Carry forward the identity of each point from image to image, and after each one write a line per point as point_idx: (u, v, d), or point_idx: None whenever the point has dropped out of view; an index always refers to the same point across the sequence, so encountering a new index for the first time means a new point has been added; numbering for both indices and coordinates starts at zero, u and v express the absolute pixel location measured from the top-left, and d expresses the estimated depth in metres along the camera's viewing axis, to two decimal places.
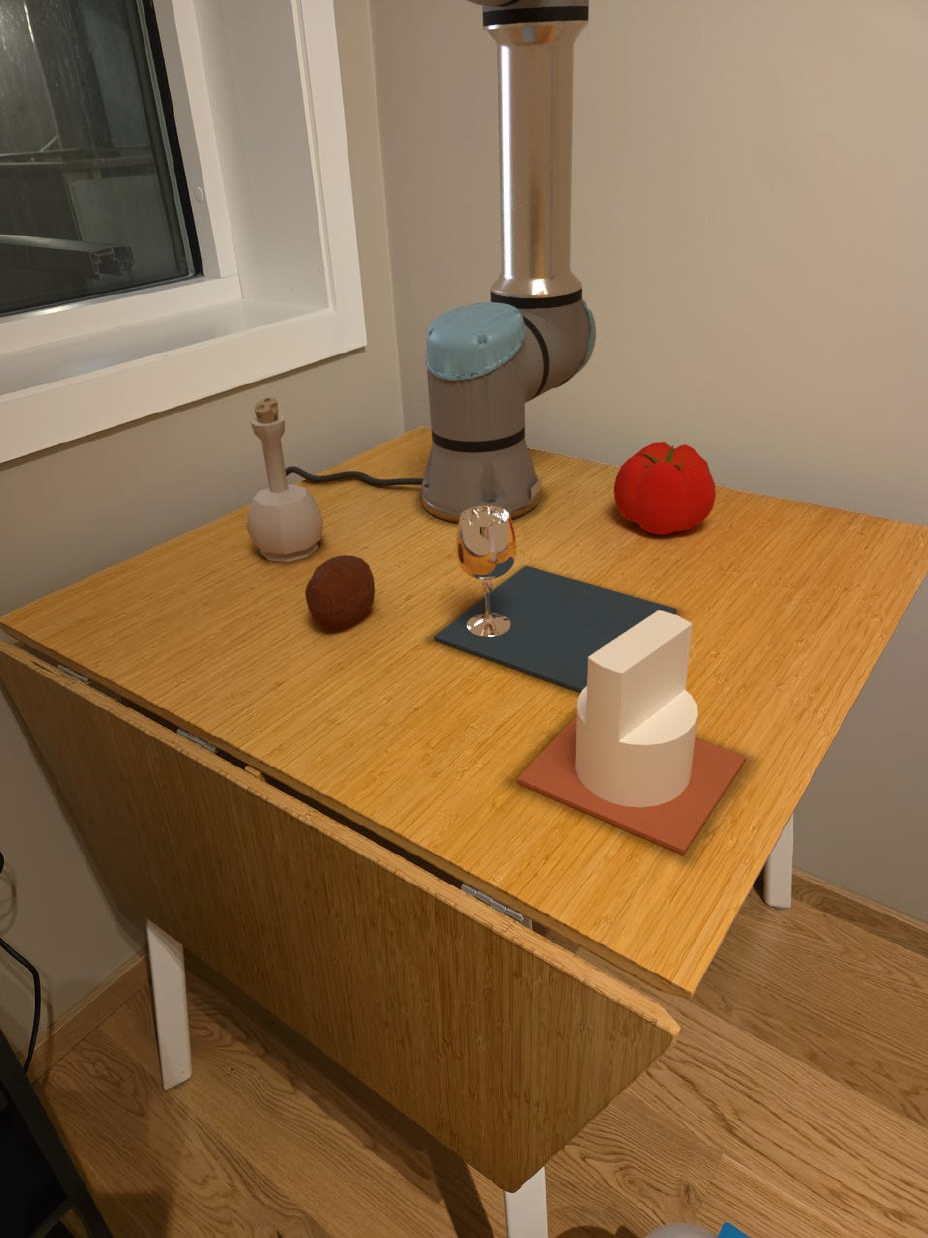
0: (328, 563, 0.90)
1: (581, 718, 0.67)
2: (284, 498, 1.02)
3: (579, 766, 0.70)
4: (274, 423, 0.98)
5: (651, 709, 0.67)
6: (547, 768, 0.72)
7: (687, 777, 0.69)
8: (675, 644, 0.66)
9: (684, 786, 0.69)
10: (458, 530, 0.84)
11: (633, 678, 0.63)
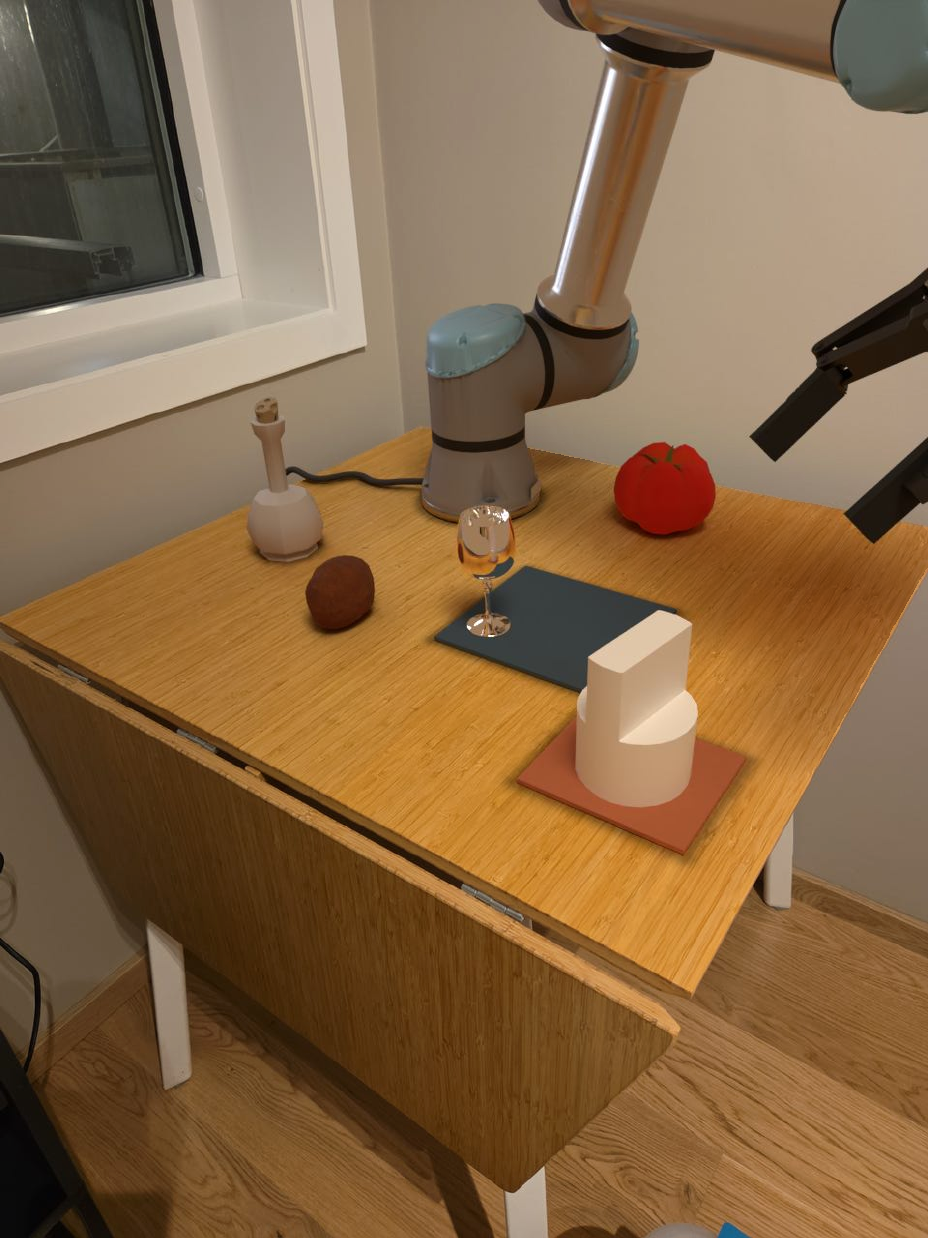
0: (328, 563, 0.90)
1: (581, 718, 0.67)
2: (284, 498, 1.02)
3: (579, 766, 0.70)
4: (274, 423, 0.98)
5: (651, 709, 0.67)
6: (547, 768, 0.72)
7: (687, 777, 0.69)
8: (675, 644, 0.66)
9: (684, 786, 0.69)
10: (458, 530, 0.84)
11: (633, 678, 0.63)
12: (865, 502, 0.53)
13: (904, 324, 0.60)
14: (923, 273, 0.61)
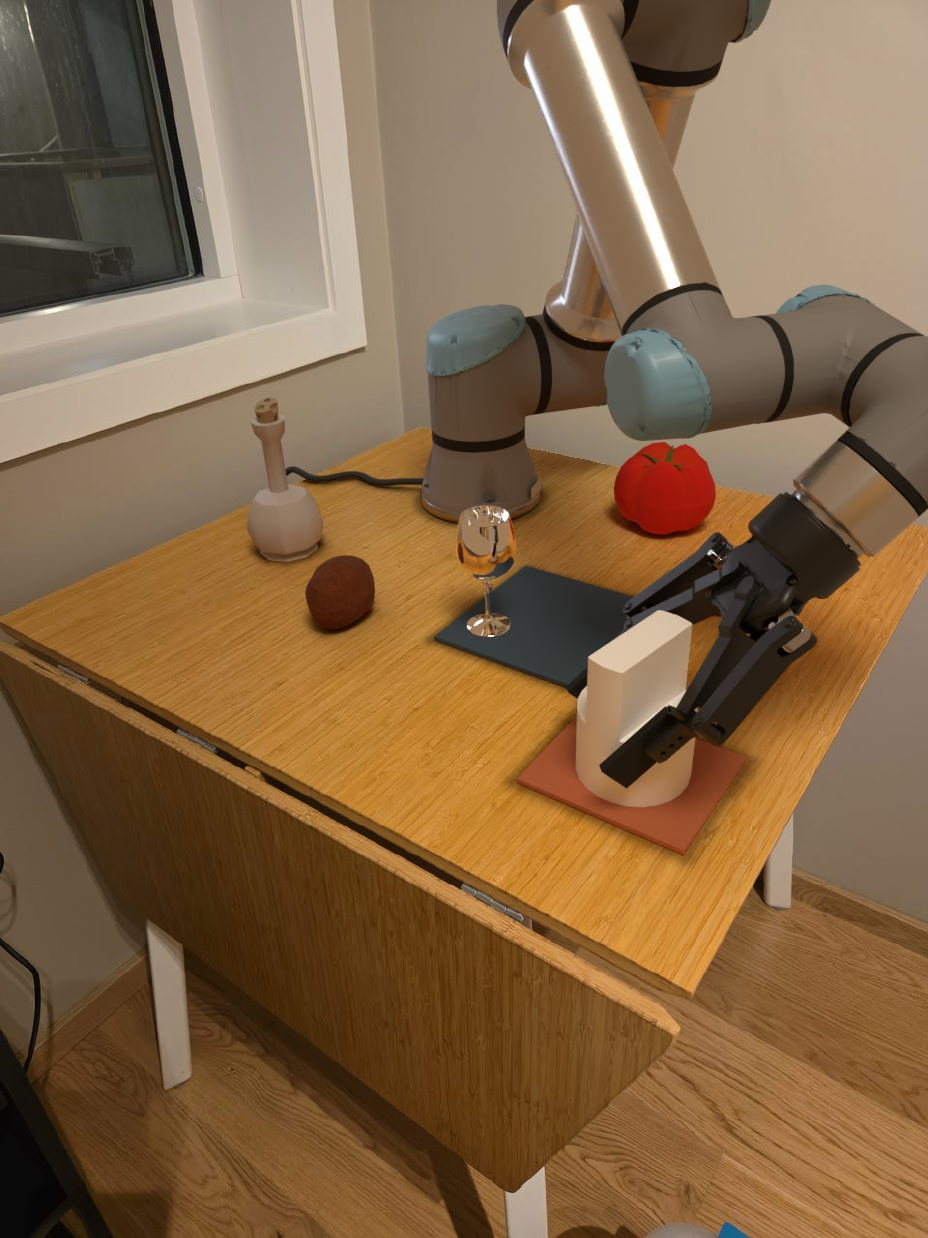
0: (328, 563, 0.90)
1: (581, 718, 0.67)
2: (284, 498, 1.02)
3: (579, 766, 0.70)
4: (274, 423, 0.98)
5: (651, 709, 0.67)
6: (547, 768, 0.72)
7: (687, 777, 0.69)
8: (675, 644, 0.66)
9: (684, 786, 0.69)
10: (458, 530, 0.84)
11: (633, 678, 0.63)
12: (614, 759, 0.64)
13: (690, 595, 0.67)
14: (705, 544, 0.69)
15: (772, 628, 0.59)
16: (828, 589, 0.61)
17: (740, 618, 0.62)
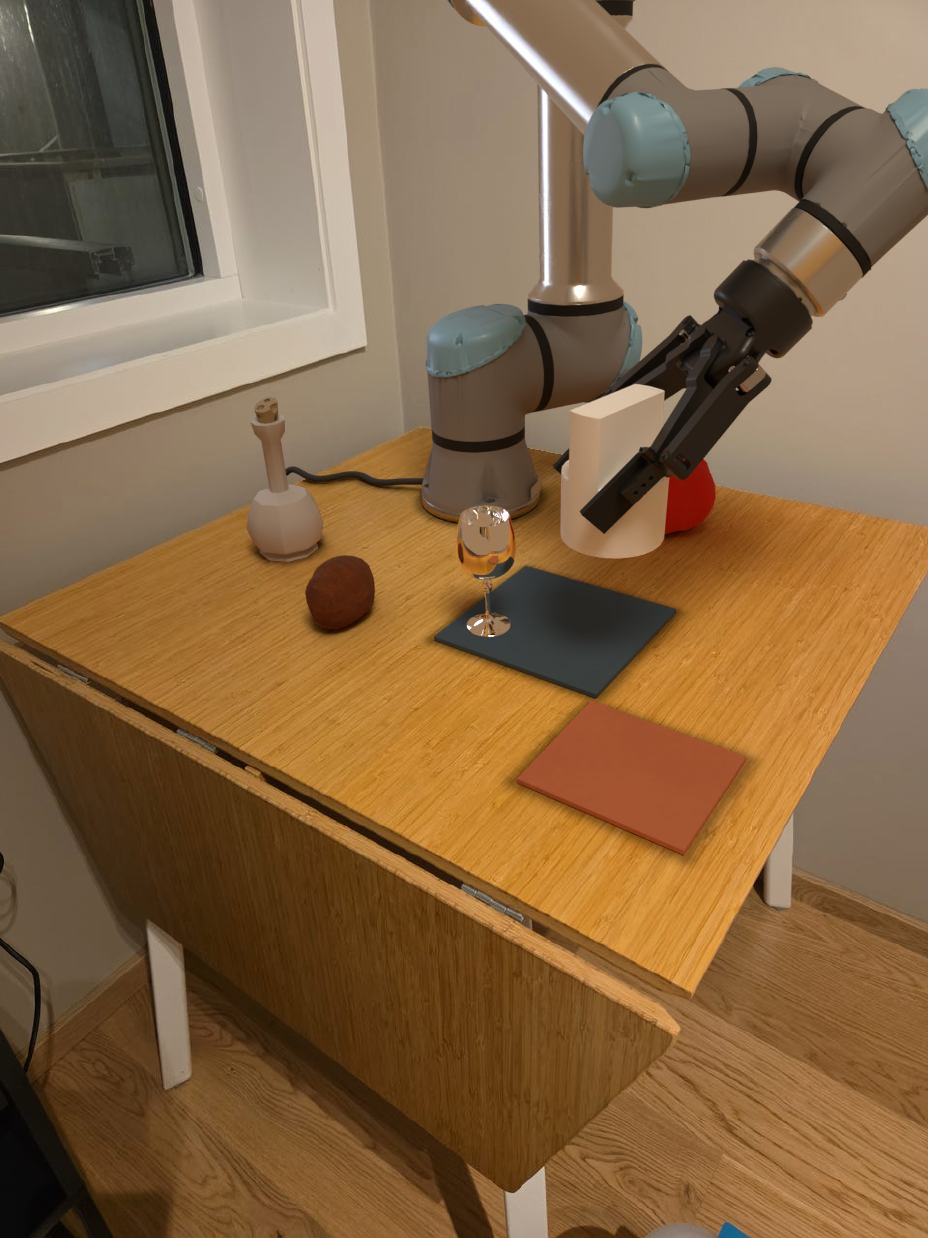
0: (328, 563, 0.90)
1: (565, 477, 0.75)
2: (284, 498, 1.02)
3: (563, 528, 0.78)
4: (274, 423, 0.98)
5: None
6: (547, 768, 0.72)
7: (660, 535, 0.76)
8: (649, 406, 0.73)
9: (657, 543, 0.76)
10: (458, 530, 0.84)
11: (610, 428, 0.71)
12: (592, 502, 0.71)
13: (663, 368, 0.75)
14: (677, 327, 0.77)
15: (732, 370, 0.67)
16: (782, 341, 0.68)
17: (705, 370, 0.69)
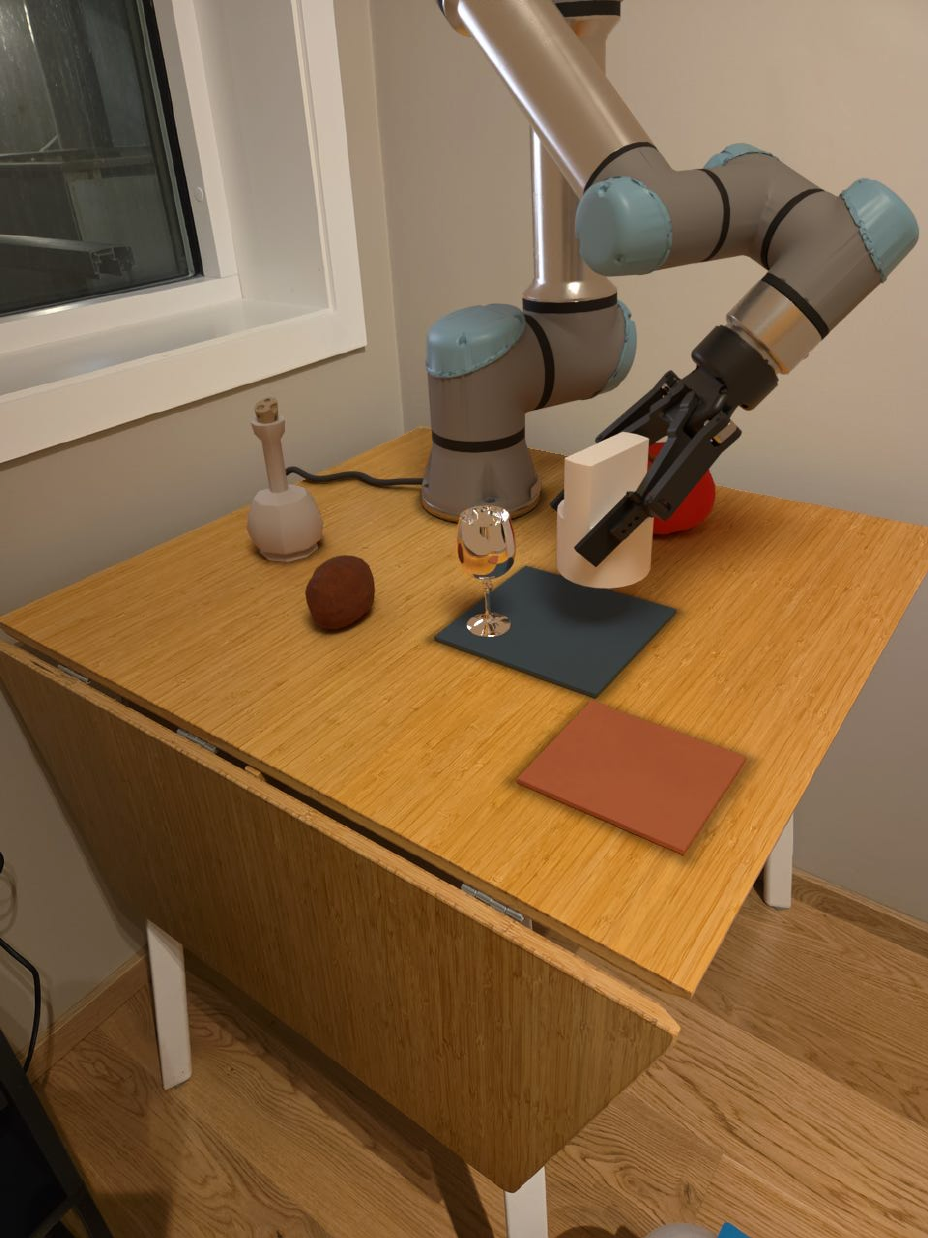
0: (328, 563, 0.90)
1: (560, 516, 0.84)
2: (284, 498, 1.02)
3: (559, 561, 0.86)
4: (274, 423, 0.98)
5: None
6: (547, 768, 0.72)
7: (646, 567, 0.85)
8: (635, 453, 0.82)
9: (644, 574, 0.85)
10: (458, 530, 0.84)
11: (600, 474, 0.80)
12: (585, 540, 0.80)
13: (647, 418, 0.84)
14: (660, 380, 0.86)
15: (707, 424, 0.76)
16: (751, 397, 0.77)
17: (683, 423, 0.78)
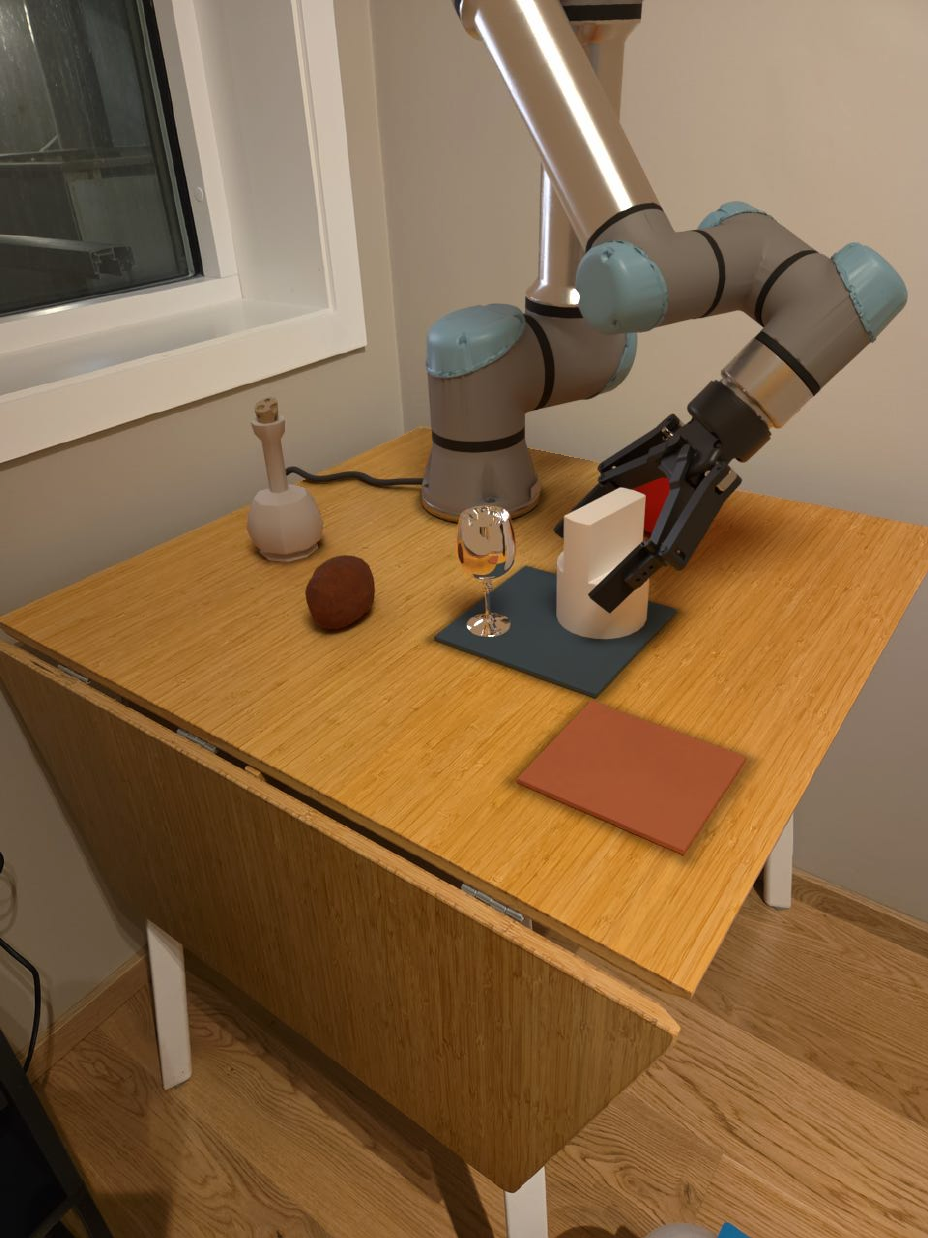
0: (328, 563, 0.90)
1: (560, 569, 0.87)
2: (284, 498, 1.02)
3: (559, 611, 0.89)
4: (274, 423, 0.98)
5: (614, 562, 0.86)
6: (547, 768, 0.72)
7: (643, 617, 0.88)
8: (632, 509, 0.85)
9: (640, 625, 0.88)
10: (458, 530, 0.84)
11: (598, 531, 0.83)
12: (599, 587, 0.81)
13: (645, 459, 0.87)
14: (663, 422, 0.88)
15: (708, 474, 0.78)
16: (745, 451, 0.80)
17: (684, 473, 0.80)
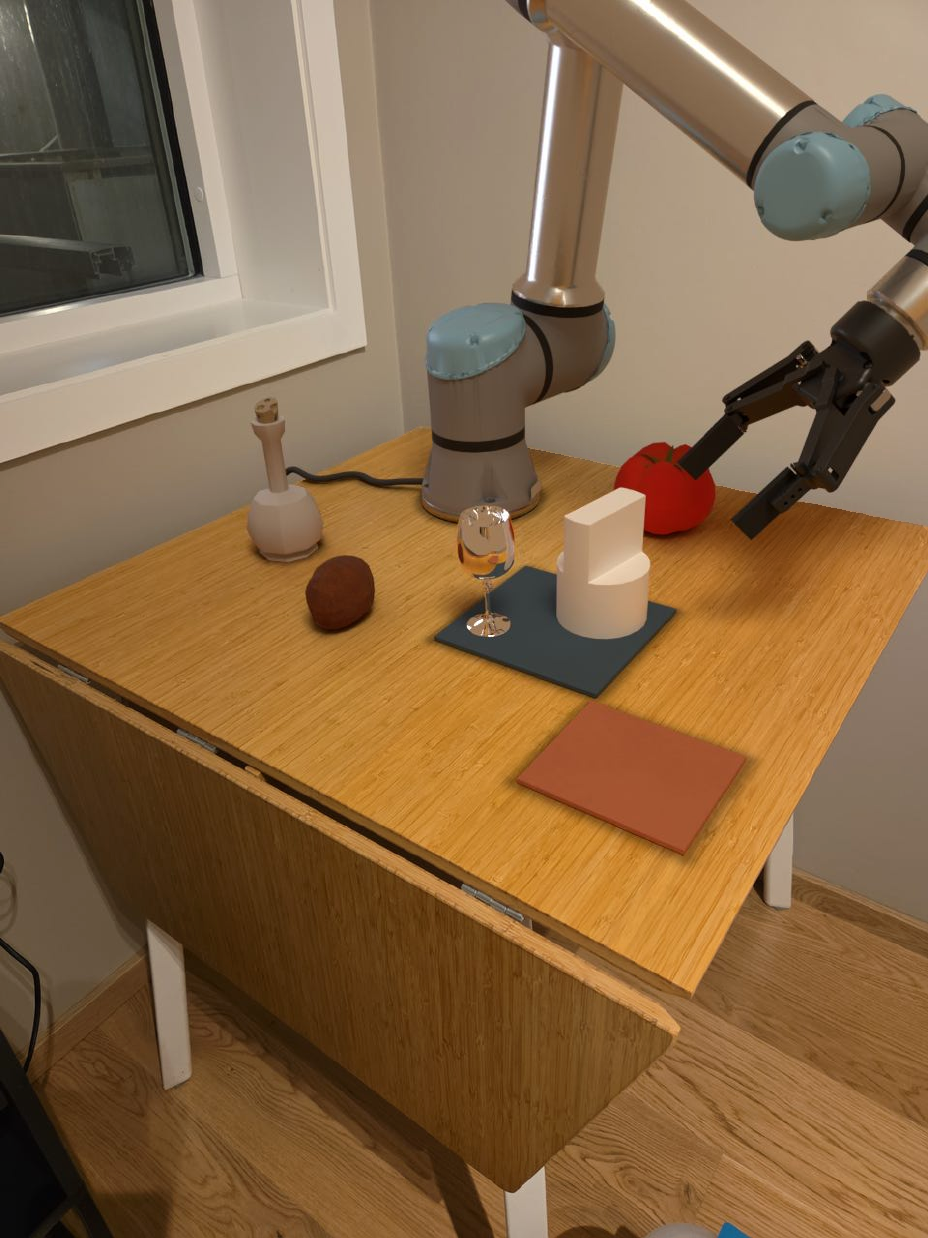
0: (328, 563, 0.90)
1: (560, 569, 0.87)
2: (284, 498, 1.02)
3: (559, 611, 0.89)
4: (274, 423, 0.98)
5: (614, 562, 0.86)
6: (547, 768, 0.72)
7: (643, 618, 0.88)
8: (632, 509, 0.85)
9: (640, 625, 0.88)
10: (458, 530, 0.84)
11: (598, 531, 0.83)
12: (743, 512, 0.79)
13: (781, 386, 0.85)
14: (796, 349, 0.87)
15: (860, 394, 0.76)
16: (895, 372, 0.78)
17: (832, 395, 0.79)
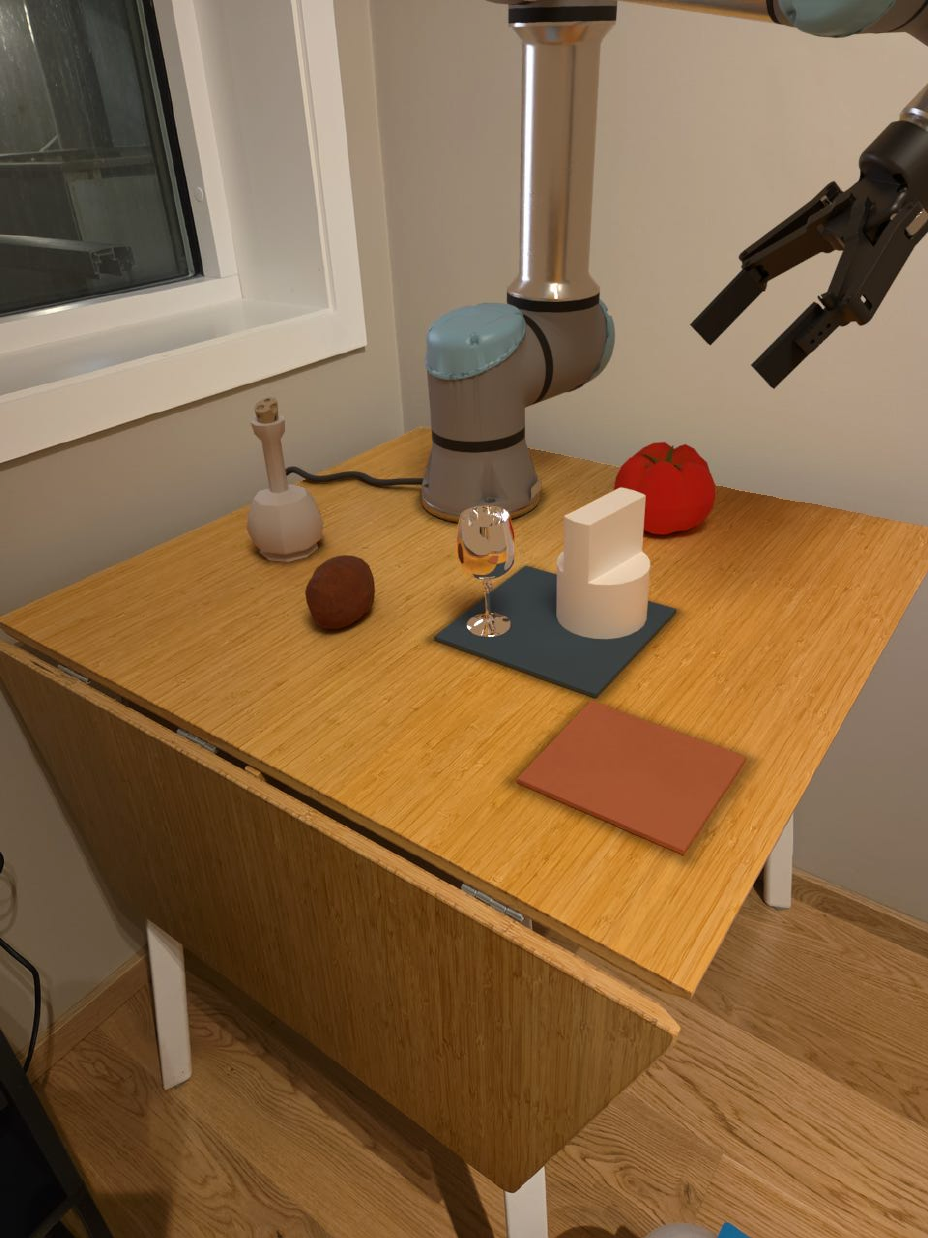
0: (328, 563, 0.90)
1: (560, 569, 0.87)
2: (284, 498, 1.02)
3: (559, 611, 0.89)
4: (274, 423, 0.98)
5: (614, 562, 0.86)
6: (547, 768, 0.72)
7: (643, 618, 0.88)
8: (632, 509, 0.85)
9: (640, 625, 0.88)
10: (458, 530, 0.84)
11: (598, 531, 0.83)
12: (766, 354, 0.72)
13: (804, 230, 0.78)
14: (820, 192, 0.79)
15: (895, 216, 0.69)
16: None
17: (862, 224, 0.71)
